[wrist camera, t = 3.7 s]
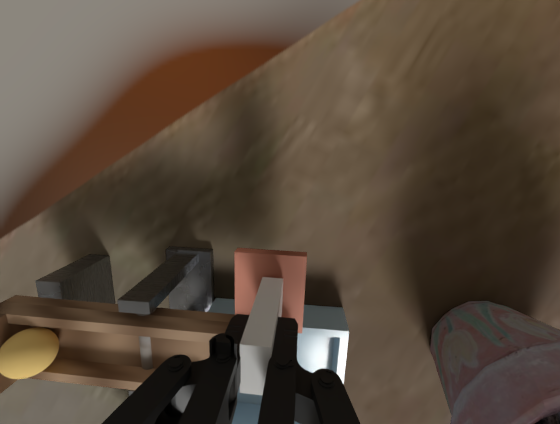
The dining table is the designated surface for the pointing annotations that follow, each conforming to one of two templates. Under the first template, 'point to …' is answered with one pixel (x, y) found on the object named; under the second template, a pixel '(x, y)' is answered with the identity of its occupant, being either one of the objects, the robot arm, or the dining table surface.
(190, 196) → the dining table surface
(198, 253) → the fulcrum
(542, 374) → the potted plant
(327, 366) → the dish
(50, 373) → the brown wooden trough
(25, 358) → the ball
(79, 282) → the block
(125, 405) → the robot arm
